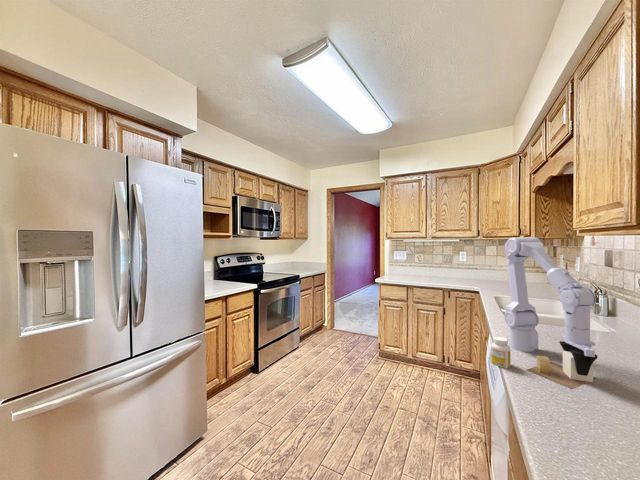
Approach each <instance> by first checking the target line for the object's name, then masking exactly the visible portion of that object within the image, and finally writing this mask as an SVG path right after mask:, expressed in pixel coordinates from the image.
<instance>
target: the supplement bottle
mask: <svg viewBox="0 0 640 480" xmlns="http://www.w3.org/2000/svg"><path fill="white" fill-rule="evenodd" d="M508 342H509V340H508V339H507V338H506V337H502V336H494V337H493V343H491V346H490V347H491V351H490V352H491V363H492V365H494V366H496V367H498V368H502V369H503V368H504V369H508V368H510V367H511V347H510V345H508V344H509V343H508Z"/></svg>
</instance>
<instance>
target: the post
mask: <svg viewBox="0 0 640 480" xmlns="http://www.w3.org/2000/svg"><path fill="white" fill-rule="evenodd" d="M550 361H551V359H550V358H549V357H548V356H546V355H536V366H537V370H538V371H539V372H540V373H545V374H550Z"/></svg>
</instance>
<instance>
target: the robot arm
mask: <svg viewBox="0 0 640 480" xmlns="http://www.w3.org/2000/svg"><path fill="white" fill-rule="evenodd" d="M544 246H545V245H544V243H543V242H542V241H541V240H540V239H539V238H538V237H536V236H534V237H533V236H532V237H510V238H509V239H507V241H506V242H505V243H504V248H505V249H504V250H505V258H506V264H507V265H506V267H507V274H508V275H507V276H508V282H509V284H508V285H509V292H510V299H511V301H510V303H508V305H506V306H505V308H504V309H505V313H504V321H505V323H506V325H507V326H508V327H509V347H510V349H513V350H515V351H519V352H521V353H522V352H523V353H524V352H525V353H532V352H534V351H535V350H539V332H538V331H537V330H536V327H538V325H539V324H540V318H539V316H538V314H537V311H536V307H535V306H534V305H532V304H531V303H529V294H528V287H527V278H526V271H525V262H526V260H527V259H530V258H531V259H533V260H534V262H536V263H537V264H538V266H540V268H541V269H543V271H545V272H546V279H547V280H548V282H549V283H550V284H551V285H552V286H553V287H554V288H555V290H556V291H557V292H558V293H559V295H558V299H559V301H560V302H561V305H562V310H563V312H564V332H562V333H561V335H562V337H561V338H562V340H563V341H561V340H560V341H558V342H559V344H560V346H561V348H562V351H570V352H571V353H572V355H573V357H574V360H575V365H576V371H577V374H578V375H584V376H587V375H588V373H589V370H590V367H591V365H592V363H593V364H594V362H595V361H596V360H597V359H598V355H597V354H596V350H595V349H594V348H593V346H596V343H595V342H594V341H592V340H591V307H592V306H593V305H594V304H596V301H597V297H596V294H595V293H594V291H593V290H592V288H590V287H587V286H586V287H585V286H583V284H580V283H579V282H578V281H577V280H576V278H574V277H573V276H572V275H571V274H570V273H571V272H570V271H569V270H568V269H565V268H562V267H558V266H557V264H556V263H555V261H554V260H553V259H552V258H551V256H550V255H549V253H547V251H546V250H545V249H544Z"/></svg>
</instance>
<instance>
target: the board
mask: <svg viewBox="0 0 640 480" xmlns="http://www.w3.org/2000/svg"><path fill="white" fill-rule="evenodd" d="M526 371H527V372H529V373H531V374H534V375H537V376H539V377H541V378H544V379H546V380H548V381H552V382H554V383H556V384H559V385H560V386H563V387H566V388H567V389H571V390H573V389H575V388H578V387H581V386H583V385H585V384H587V383H589V382H588V381H582V380H575V379H570V378H569V377H568V376H567V375H566V374H565V373H564V372H563V364H558V363H556V362H553V361H551V360H550V374H545V373H540V372H539V371H538V370H537V365H536V366H533V367H530V368H526ZM596 379H597V377H596V376H593V381H594V380H596Z"/></svg>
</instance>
